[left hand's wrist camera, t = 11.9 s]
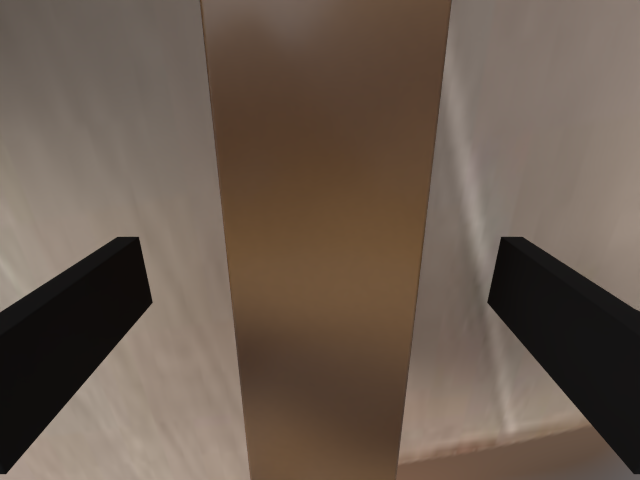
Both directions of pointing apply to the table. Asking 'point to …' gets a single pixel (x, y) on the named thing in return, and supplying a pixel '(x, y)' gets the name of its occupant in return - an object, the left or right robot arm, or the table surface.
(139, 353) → the table surface
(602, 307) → the left robot arm
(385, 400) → the brown wooden bar
